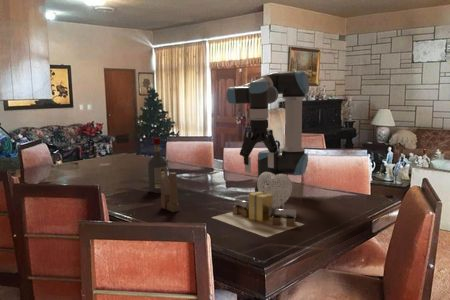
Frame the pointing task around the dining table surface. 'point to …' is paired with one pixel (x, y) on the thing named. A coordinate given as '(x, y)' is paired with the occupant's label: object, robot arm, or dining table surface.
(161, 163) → the liquor
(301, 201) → the dining table surface
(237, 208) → the tan silver-topped block
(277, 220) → the grey brown bridge piece
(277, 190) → the decorative heart
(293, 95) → the robot arm
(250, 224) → the board
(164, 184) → the wooden block
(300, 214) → the dining table surface
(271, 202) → the yellow tall block
